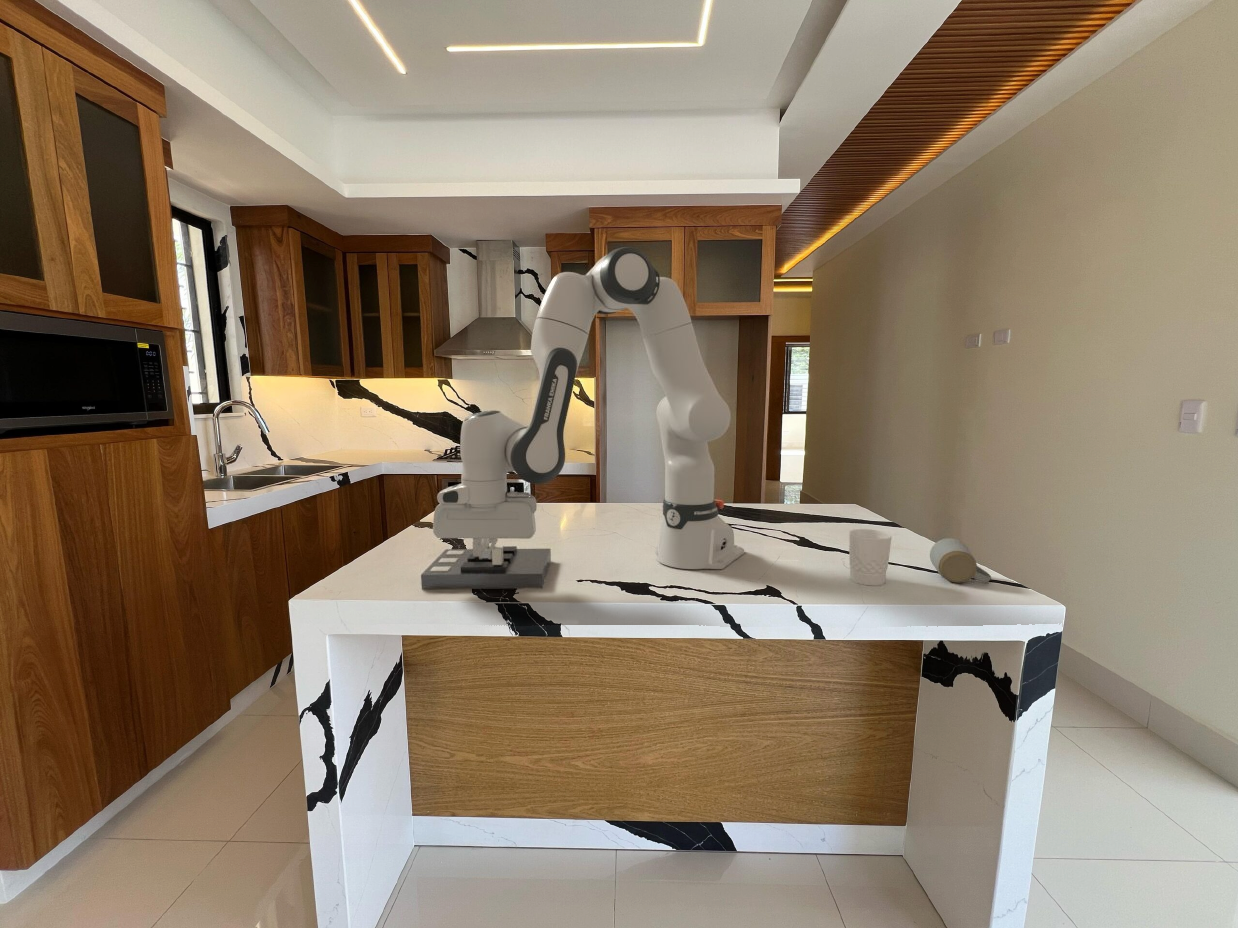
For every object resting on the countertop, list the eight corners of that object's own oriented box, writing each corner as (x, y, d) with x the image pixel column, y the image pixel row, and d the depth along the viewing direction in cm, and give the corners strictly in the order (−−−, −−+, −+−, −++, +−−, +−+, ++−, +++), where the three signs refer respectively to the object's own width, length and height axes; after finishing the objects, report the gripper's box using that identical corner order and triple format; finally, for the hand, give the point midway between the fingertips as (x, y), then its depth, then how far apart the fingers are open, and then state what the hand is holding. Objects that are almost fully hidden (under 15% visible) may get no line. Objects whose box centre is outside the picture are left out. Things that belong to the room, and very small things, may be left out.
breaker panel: (550, 561, 127) (550, 544, 127) (542, 587, 111) (541, 568, 110) (446, 561, 127) (445, 545, 126) (421, 589, 110) (420, 569, 110)
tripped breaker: (503, 561, 114) (502, 546, 113) (501, 564, 112) (500, 549, 111) (494, 561, 114) (494, 546, 113) (492, 564, 112) (491, 549, 111)
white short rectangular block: (489, 545, 125) (488, 532, 124) (487, 548, 123) (486, 534, 122) (481, 545, 125) (480, 532, 124) (479, 548, 122) (478, 534, 122)
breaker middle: (483, 553, 119) (483, 538, 119) (481, 556, 117) (481, 541, 117) (475, 553, 119) (475, 538, 119) (473, 556, 117) (472, 541, 117)
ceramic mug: (936, 582, 113) (940, 546, 112) (927, 569, 121) (931, 536, 120) (996, 589, 110) (1001, 552, 109) (983, 575, 118) (987, 541, 117)
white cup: (877, 590, 109) (881, 541, 108) (839, 579, 115) (842, 533, 114) (894, 580, 115) (898, 534, 113) (857, 571, 120) (860, 526, 119)
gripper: (538, 489, 114) (539, 554, 116) (438, 488, 114) (441, 553, 116) (534, 495, 108) (534, 563, 110) (428, 494, 107) (431, 563, 109)
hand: (486, 558), depth 113 cm, fingers closed
